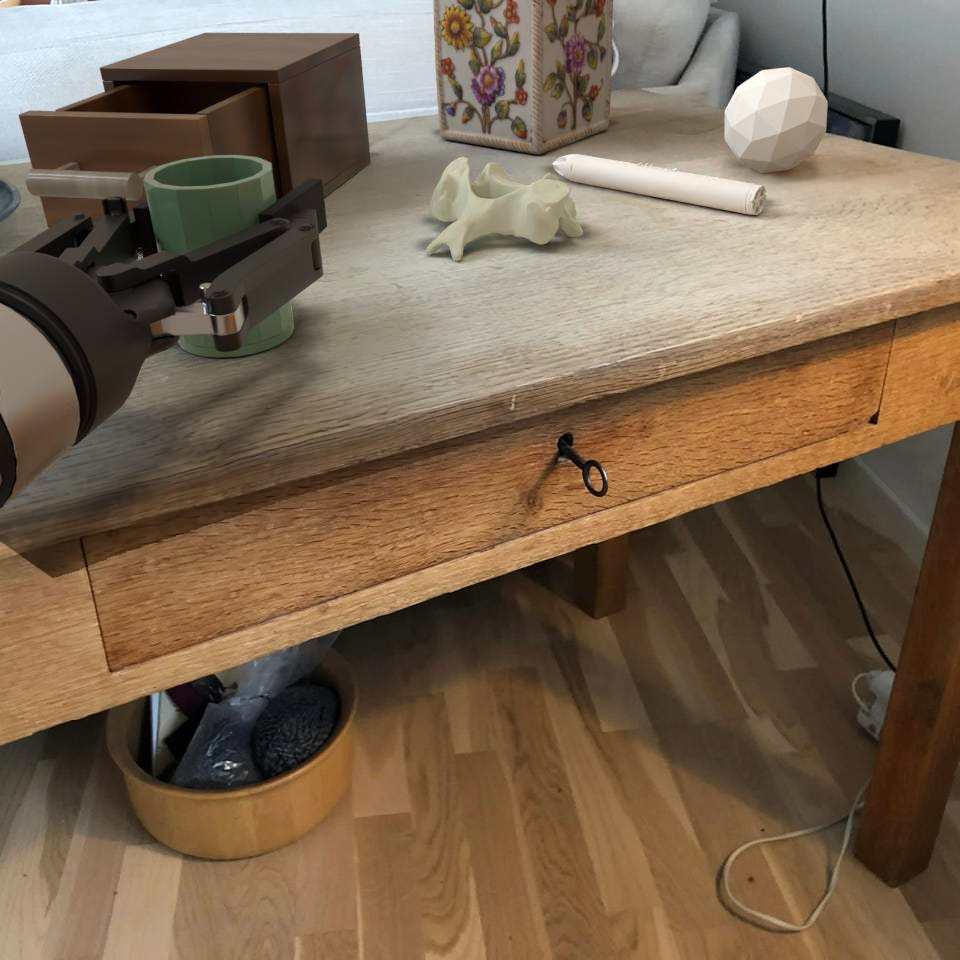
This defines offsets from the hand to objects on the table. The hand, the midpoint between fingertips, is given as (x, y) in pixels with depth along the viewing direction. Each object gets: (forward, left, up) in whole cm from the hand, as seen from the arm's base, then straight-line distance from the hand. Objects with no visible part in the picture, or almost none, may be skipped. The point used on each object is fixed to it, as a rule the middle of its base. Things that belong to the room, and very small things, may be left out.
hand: (259, 200), depth 58 cm
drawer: (-12, +10, -5) cm, 16 cm away
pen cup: (0, -5, -6) cm, 8 cm away
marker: (+19, +25, -6) cm, 32 cm away
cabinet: (-12, +23, -6) cm, 27 cm away
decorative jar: (+6, +42, -6) cm, 43 cm away
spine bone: (+10, +13, -6) cm, 17 cm away
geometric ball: (+28, +33, -6) cm, 44 cm away
